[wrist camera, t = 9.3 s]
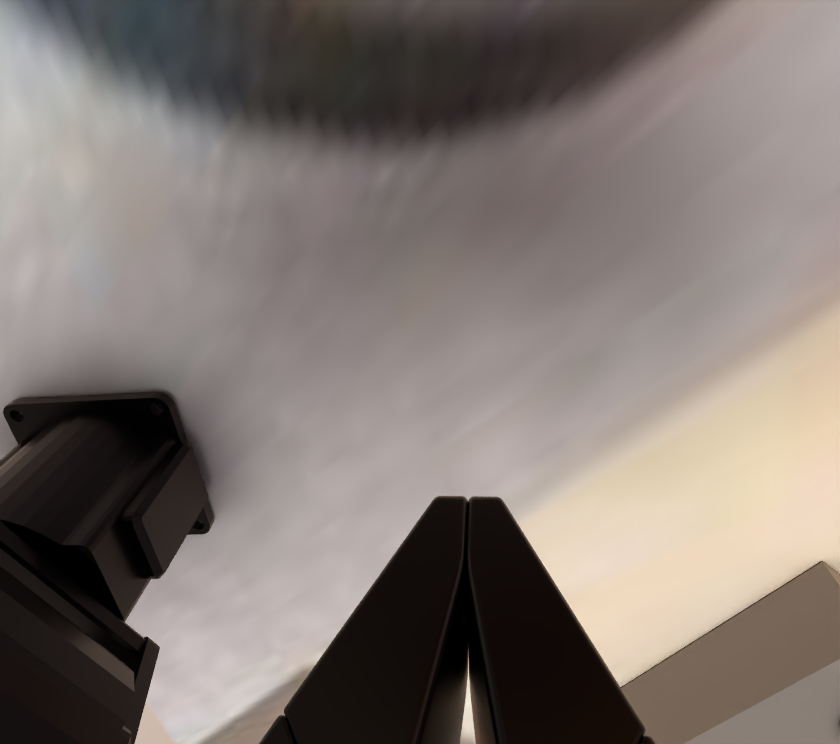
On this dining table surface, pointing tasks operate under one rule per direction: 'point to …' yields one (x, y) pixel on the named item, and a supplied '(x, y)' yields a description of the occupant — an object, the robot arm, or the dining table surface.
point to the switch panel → (754, 674)
